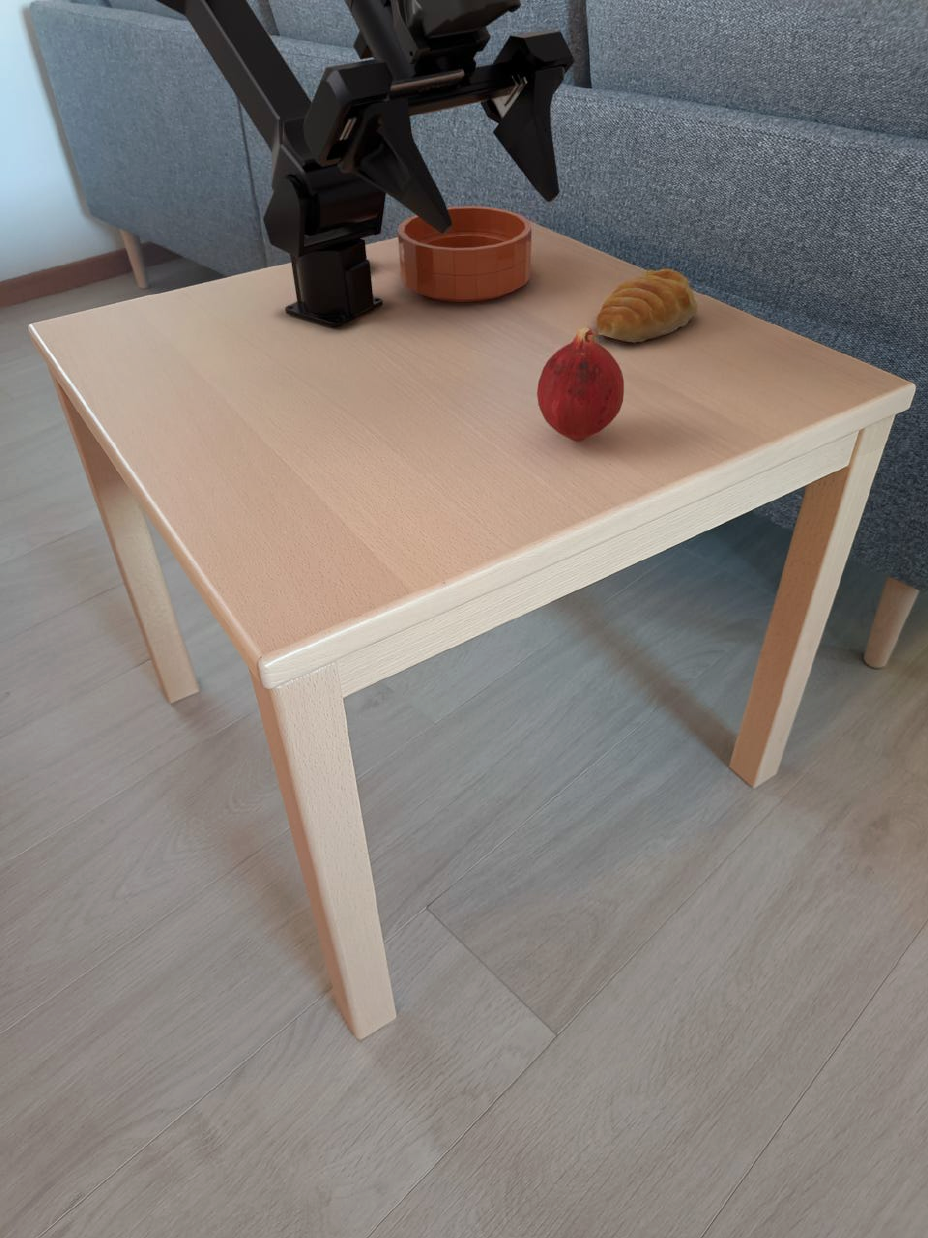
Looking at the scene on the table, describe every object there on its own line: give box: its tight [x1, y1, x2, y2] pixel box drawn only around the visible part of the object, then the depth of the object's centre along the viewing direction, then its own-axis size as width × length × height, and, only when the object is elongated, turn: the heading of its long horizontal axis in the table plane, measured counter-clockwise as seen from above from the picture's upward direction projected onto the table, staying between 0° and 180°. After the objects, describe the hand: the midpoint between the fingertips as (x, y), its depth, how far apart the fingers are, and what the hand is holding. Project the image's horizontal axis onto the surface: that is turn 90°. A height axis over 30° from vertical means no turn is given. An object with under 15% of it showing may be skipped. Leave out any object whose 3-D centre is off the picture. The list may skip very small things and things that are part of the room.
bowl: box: [397, 205, 532, 303], centre depth 83 cm, size 12×12×5 cm
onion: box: [536, 326, 625, 442], centre depth 60 cm, size 6×6×8 cm
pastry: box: [596, 268, 699, 344], centre depth 75 cm, size 9×7×4 cm
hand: (502, 213), depth 58 cm, fingers open, 9 cm apart
